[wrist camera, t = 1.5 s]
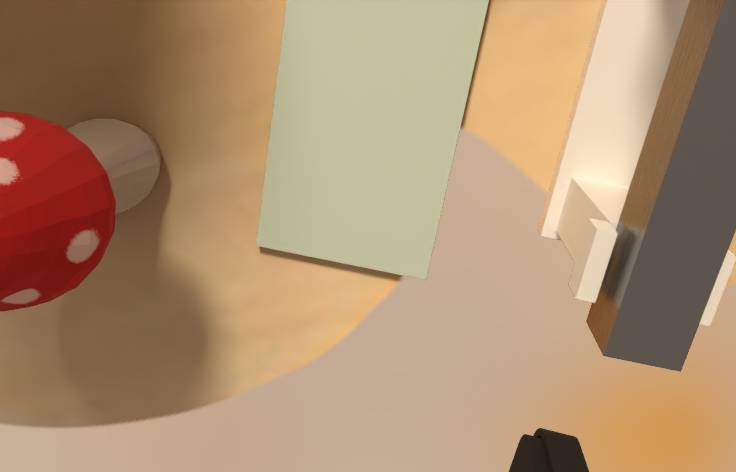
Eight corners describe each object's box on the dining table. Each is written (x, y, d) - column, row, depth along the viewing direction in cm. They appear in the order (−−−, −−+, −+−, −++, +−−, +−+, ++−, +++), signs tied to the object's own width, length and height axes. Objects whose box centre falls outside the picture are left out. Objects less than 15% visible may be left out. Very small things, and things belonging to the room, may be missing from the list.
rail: (783, -290, 21) (838, -339, 18) (878, -274, 20) (949, -322, 18) (586, 321, 28) (603, 355, 25) (655, 335, 28) (680, 371, 25)
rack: (648, -180, 29) (756, -280, 20) (767, -159, 29) (936, -250, 19) (534, 229, 36) (571, 309, 26) (630, 248, 36) (705, 336, 26)
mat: (319, -237, 30) (317, -242, 29) (532, -200, 30) (534, -204, 29) (258, 242, 38) (255, 245, 37) (426, 276, 38) (426, 280, 37)
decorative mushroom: (75, 255, 39) (-127, 388, 25) (4, 121, 37) (-262, 186, 23) (219, 204, 37) (89, 317, 23) (154, 59, 35) (-35, 87, 21)
